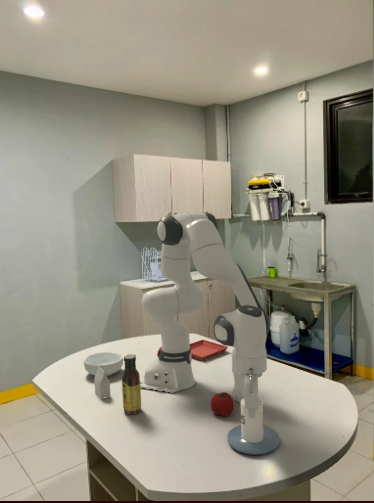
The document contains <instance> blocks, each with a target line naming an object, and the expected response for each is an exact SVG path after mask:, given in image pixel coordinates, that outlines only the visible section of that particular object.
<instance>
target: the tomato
mask: <svg viewBox="0 0 374 503" xmlns="http://www.w3.org/2000/svg"><path fill="white" fill-rule="evenodd" d="M210 408H211V409H210V410H211V411H212V413H213V414H214V415H216V416H221V417H228V416H230V415H231V414H232V413H233V412H234V409H235V402H234V397H233V395H231V393H228V392H225V391H224V392H223V391H221V392H220V393H215V395H213V396H212V397H211V400H210Z"/></svg>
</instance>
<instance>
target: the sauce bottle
mask: <svg viewBox="0 0 374 503" xmlns="http://www.w3.org/2000/svg"><path fill="white" fill-rule="evenodd" d="M136 356H137V355H135V354H132V353H131V354H130V353H129V354H126V355H123V363H124V370H123V373H122V377H121V389H122V390H121V392H122V408H123V412H124V413H125V414H126V415H136V413H137V414H139V413H140V412H141V411H142V393H141V390H142V388H140V380H141V378H140V376H141V375H140V372H139V370H137V365H136V361H137V357H136Z"/></svg>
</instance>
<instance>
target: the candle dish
mask: <svg viewBox="0 0 374 503" xmlns="http://www.w3.org/2000/svg"><path fill="white" fill-rule="evenodd" d="M226 438H227V442H228V445H229V446H230V447H231V448H233V449H234V450H236V451H238V452H239V453H242V454H246V455H251V456H261V455H265V454H266V455H267V454H269V453H271V452H273V451H275V450H276V449H277V448H278V447H279V445H280V443H281V442H280V435H279V434H278V432H277V431H276V430H274V428H271V427H270V426H267V425H264V424H263V440H262V441H260V442H257V443H250V442H247V441H245V440H243V439H242V432H241V424H240V425H236V426H234V427H232V428H231V429H230V430H229V431H228V433H227V437H226Z"/></svg>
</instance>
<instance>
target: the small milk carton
mask: <svg viewBox="0 0 374 503" xmlns="http://www.w3.org/2000/svg"><path fill="white" fill-rule="evenodd" d="M93 380H94V394H97V395H98V396H99V397H100V398H101V399H100V398H99V397H98V396H97V395H96V396H97V397H98V398H99V399H100V400H103V399H102V398H104V397H108V396H111V384H110V383H111V381H110V379H109V378H108V376H106V374H105V372H104V371H103V370H102V369H101V368H100V367H98V370H97V373H96V375H94V378H93ZM108 398H109V397H108Z"/></svg>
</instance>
